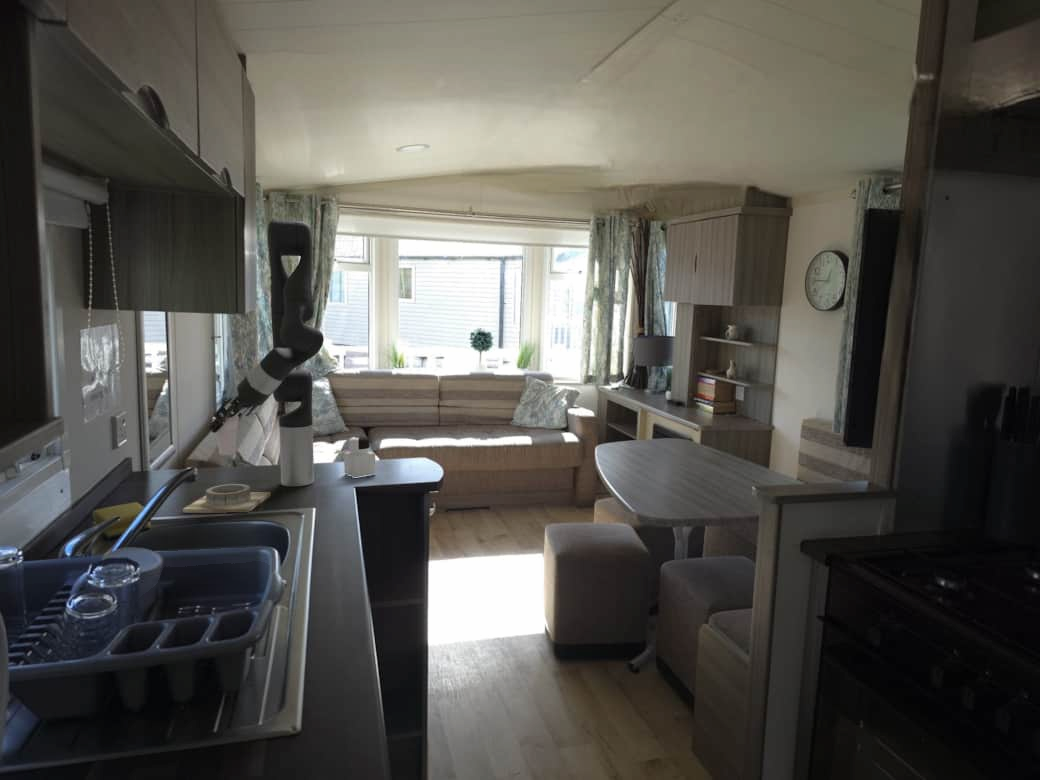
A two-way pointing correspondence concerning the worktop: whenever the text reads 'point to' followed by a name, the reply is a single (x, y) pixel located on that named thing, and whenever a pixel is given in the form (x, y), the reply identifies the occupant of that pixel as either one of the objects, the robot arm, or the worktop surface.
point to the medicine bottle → (359, 457)
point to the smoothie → (227, 436)
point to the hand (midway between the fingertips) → (220, 427)
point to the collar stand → (227, 500)
